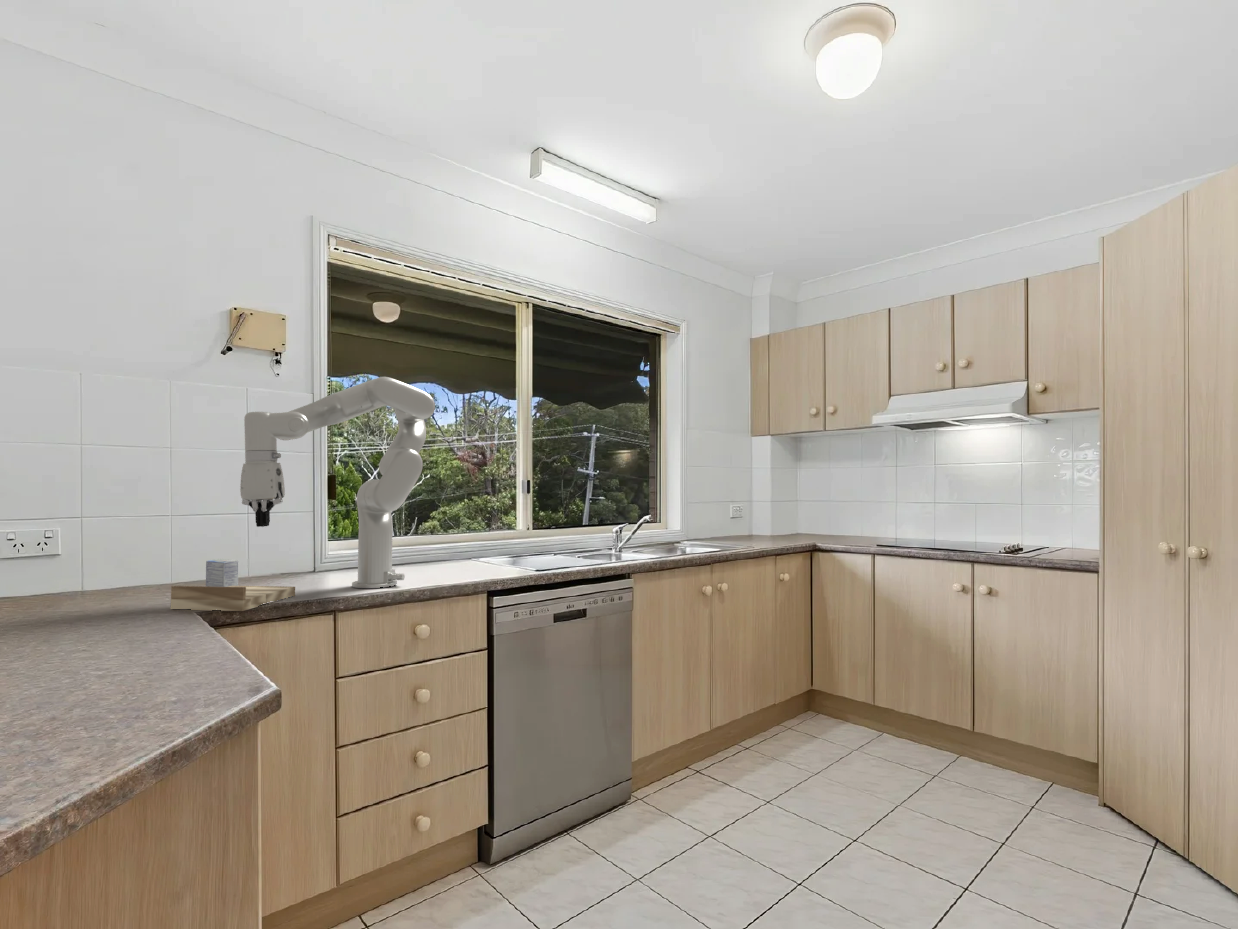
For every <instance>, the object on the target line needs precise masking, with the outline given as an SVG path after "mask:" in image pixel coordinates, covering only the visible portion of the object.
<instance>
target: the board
mask: <svg viewBox="0 0 1238 929" xmlns="http://www.w3.org/2000/svg"><path fill="white" fill-rule="evenodd" d="M291 596H293V597H295V596H296V586H278V585H276V586H274V585H272V586H271V585H268V586H267V585H238V586H228V587H211V586H206V585H205V586H204V585H202V586H199V585H197V586H196V585H171V587H170V610H171V609H191V610H190V611H212V610H216V609H217V610H221V612H244V611H248V610H251V609H254V608H259V607H260V606H259V605H261V604H263V603H267V602H270V601H276V602H278V601H277V600H279V601H281V600H280V599H283V600H285V599H284V598H286V599H289V598H288V597H290V598H292V597H291ZM258 606H259V607H258Z"/></svg>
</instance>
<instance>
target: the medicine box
mask: <svg viewBox="0 0 1238 929" xmlns="http://www.w3.org/2000/svg"><path fill="white" fill-rule="evenodd" d="M205 586H211V587H228V586H239V560H237V559H223V558H222V559H221V558H220V559H219V558H218V559H212V560H211V559H210V560H206V562H205Z"/></svg>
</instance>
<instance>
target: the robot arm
mask: <svg viewBox="0 0 1238 929" xmlns="http://www.w3.org/2000/svg"><path fill="white" fill-rule="evenodd" d="M386 406H387V407H390V408H392V409H394V414H395V416H396V418H397V422H398V431H397V433H396V435H395V437H394V439H393V440H392V442H391V444H390V445H389V447H388V448H387V449H386V451H385V453H384V454H383V456H382V457H381V458H380V461H379V463H378V469H379V473H380V475H382V476H381V477H380V478H379V479H370V480H367V481H364V483H363V484H361V485H360V487H359V489H358V491H357V494H356V506H357V516H358V540H357V541H358V542H357V543H358V544H357V548H358V549H357V553H358V554H357V580H355V581H353V582H352V583H351V586H352V588H356V589H381V588H380V587H383V588H390V587H389V586H391V587H395V586H397V585H398V581H404V580H405V576H406V575H405V573H396V569H395V568H393V530H394V528H393V517H392V512H394V511H396V510H398V509H399V508H400V507H401V506H402V505H403V504H404V502H405V501H407V500H406V499H407V498H408V496H409V494H411V491H412V490H413V488H414V486H415V485H416V483H417V482H418V480H419V478H420V476H421V474H422V471H423V465H424V463H423V459H422V456H421V455H420V453H421V450H422V448H423V447H424V444H425V442H426V439H427V438H426V437H427V428H426V422H425V420H427V419H429V418H431V416H432V415H433V414H434V412H435V409H436V403H435V401H434V398H433V397H432V396H431V394H429V393H427V391H424V390H422V389H419V388H417V387H415V386H412V385H410V384H408V383H405V382H403V381H400V380H397V379H396V378H392V377H388V376H379V377H375V378H374V379H370V380H366V381H364V382H362V383H359V384H356V385H353V386H351V387H348V388H345V389H342V390H339V391H337V392H335V393H334V392H333V393H331V394H329V395H327V396H324V397H322V398H320V399H318V400H316V401H314V402H312V403H309V404H306V405H303V406H300V407H298V408H295V409H292V410H290V411H286V412H283V411H282V412H270V411H269V412H268V411H250V412H247V413H246V414H245V415H244V419H243V420H244V426H243V427H244V452H245V453H244V457H245V458H244V461H245V463H243V464H242V469H241V474H240V486H239V487H240V488H239V490H240V497H241V499H242V500H241V504H242V505H245V506H249V507H250V508H251V509H252V511H253V512H254V513H255V514H254V515H255V524H256V527H257V528H259V527H262V528H263V527H269V526H270V523H271V522H270V521H271V518H270V516H271V515H270V514H271V512H270V511H272V509H273V508H274V507H275V506H277V505H280V504H282V503H284V502H283V498H284V497H285V494H286V493H285V492H286V490H285V487H286V486H285V480H284V473H283V468H282V464H281V463H280V462H278V459H281V457H282V454H281V453H280V452H278V451H277V450H278V449H277V448H278V446H277V440H280V441H291V440H292V441H293V440H297V439H300V438H302V437H304V436H305V435H306V434H308V433H311V432H312V431H316V430H319V429H322V428H326V427H328V426H332V425H338V424H341V423H344V422H347V421H349V420H351V419H352V420H353V419H354V418H357V417H359V416H362V415H364V414H368V413H370V412H372V411H374V410H377V409H380V408H383V407H386ZM396 584H397V585H396ZM394 585H395V586H394Z"/></svg>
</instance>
